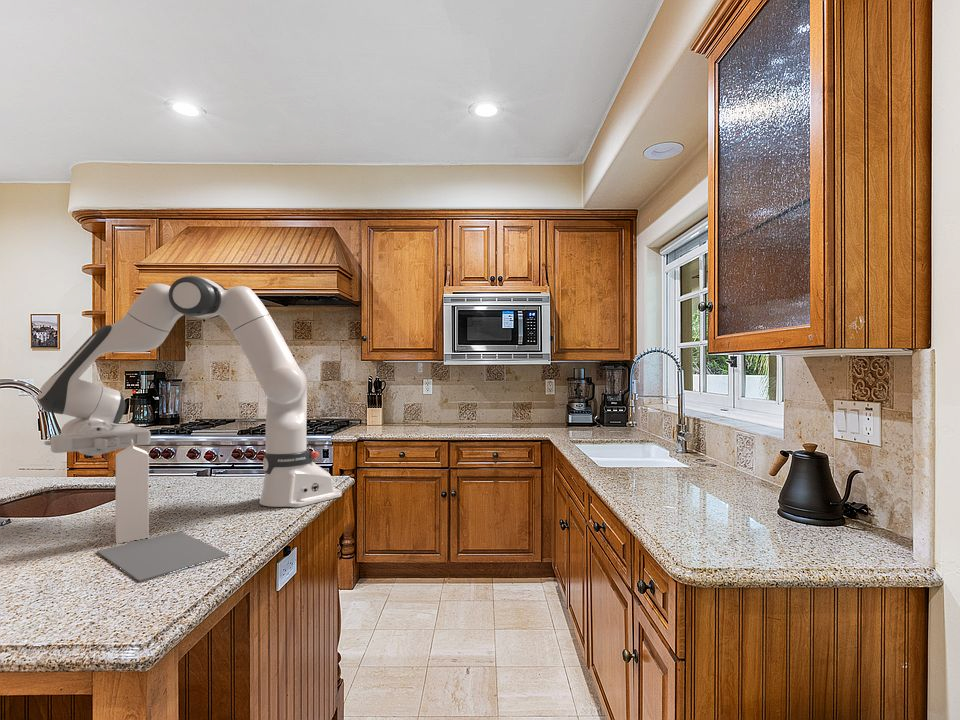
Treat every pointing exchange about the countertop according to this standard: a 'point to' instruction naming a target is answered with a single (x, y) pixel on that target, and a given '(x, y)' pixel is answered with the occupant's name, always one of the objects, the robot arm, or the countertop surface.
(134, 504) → the milk
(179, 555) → the mat
